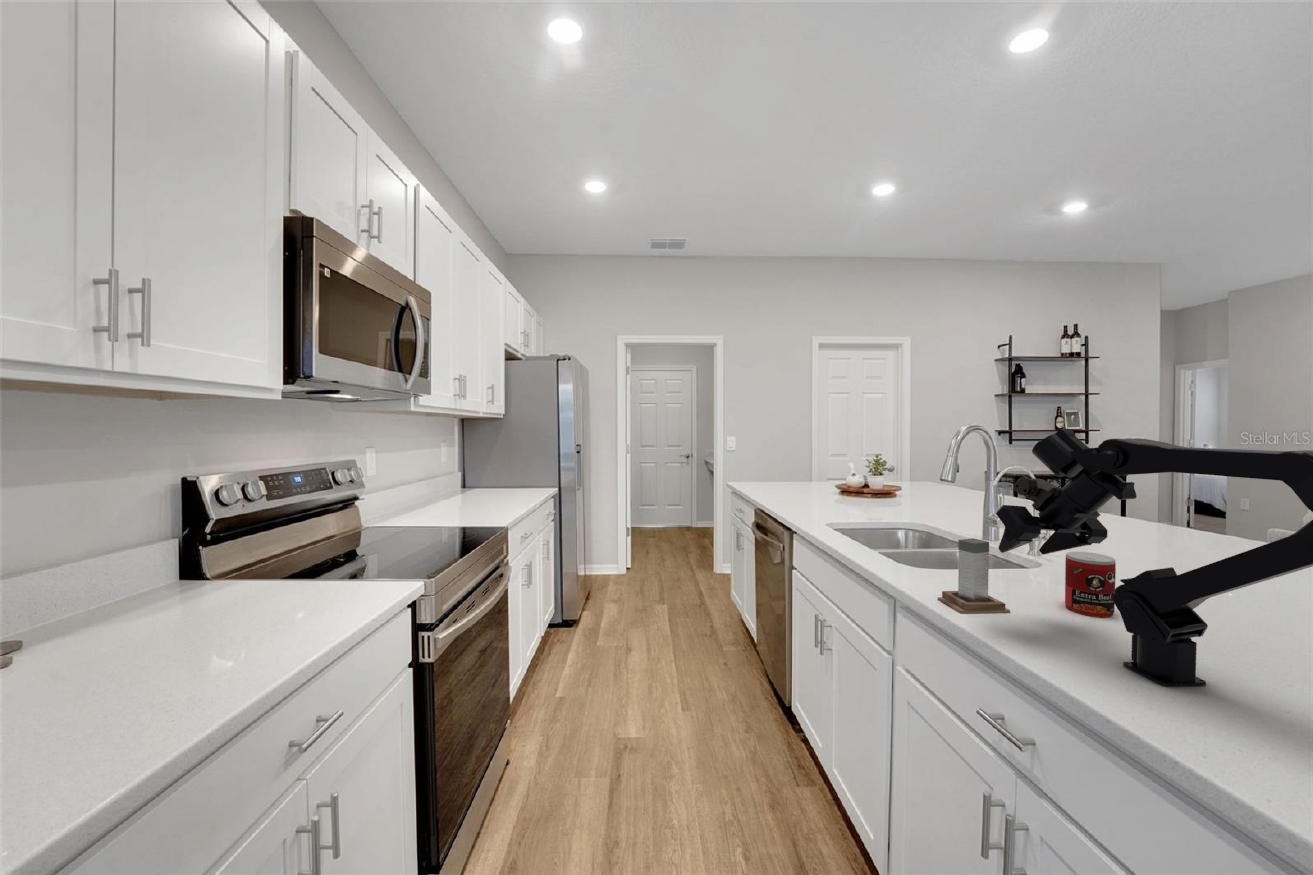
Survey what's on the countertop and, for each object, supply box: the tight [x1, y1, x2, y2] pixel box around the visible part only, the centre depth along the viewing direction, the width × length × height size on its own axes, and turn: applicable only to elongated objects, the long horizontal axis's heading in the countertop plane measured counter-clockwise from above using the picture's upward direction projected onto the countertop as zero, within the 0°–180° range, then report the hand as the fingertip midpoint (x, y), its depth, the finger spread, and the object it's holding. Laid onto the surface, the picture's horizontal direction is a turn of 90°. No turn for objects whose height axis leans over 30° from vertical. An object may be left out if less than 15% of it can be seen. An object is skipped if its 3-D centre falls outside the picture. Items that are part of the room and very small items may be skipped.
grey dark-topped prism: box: [957, 537, 990, 602], centre depth 105 cm, size 4×4×13 cm
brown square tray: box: [937, 590, 1011, 614], centre depth 105 cm, size 8×10×2 cm
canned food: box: [1064, 551, 1117, 618], centre depth 102 cm, size 8×8×11 cm
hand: (1020, 551), depth 97 cm, fingers open, 9 cm apart
